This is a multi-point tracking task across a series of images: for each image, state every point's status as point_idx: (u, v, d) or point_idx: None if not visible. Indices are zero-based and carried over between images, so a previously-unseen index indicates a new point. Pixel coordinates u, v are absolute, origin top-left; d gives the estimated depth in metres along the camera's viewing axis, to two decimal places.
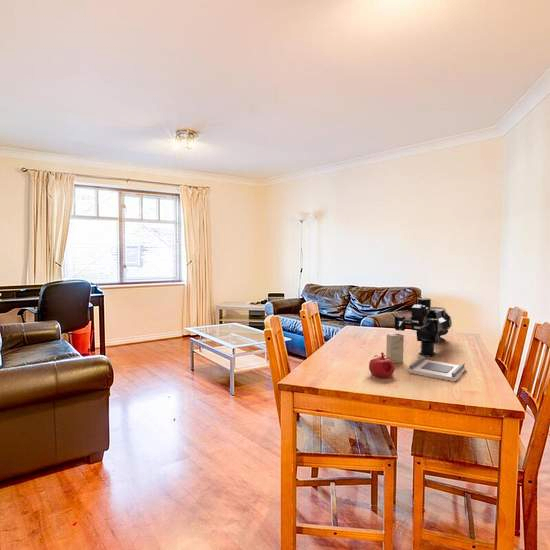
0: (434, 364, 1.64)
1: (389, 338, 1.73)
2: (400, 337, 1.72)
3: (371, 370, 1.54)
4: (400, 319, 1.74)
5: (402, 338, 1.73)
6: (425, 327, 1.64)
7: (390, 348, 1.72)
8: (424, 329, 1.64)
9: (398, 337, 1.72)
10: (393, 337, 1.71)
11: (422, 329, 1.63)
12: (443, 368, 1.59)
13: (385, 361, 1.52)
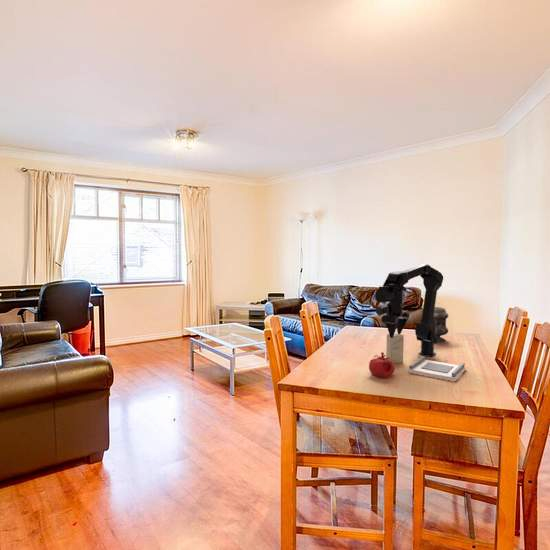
0: (434, 364, 1.64)
1: (389, 338, 1.73)
2: (400, 337, 1.72)
3: (371, 370, 1.54)
4: None
5: (402, 338, 1.73)
6: (389, 331, 1.70)
7: (390, 348, 1.72)
8: (391, 333, 1.69)
9: (398, 337, 1.72)
10: (393, 337, 1.71)
11: (391, 336, 1.70)
12: (443, 368, 1.59)
13: (385, 361, 1.52)
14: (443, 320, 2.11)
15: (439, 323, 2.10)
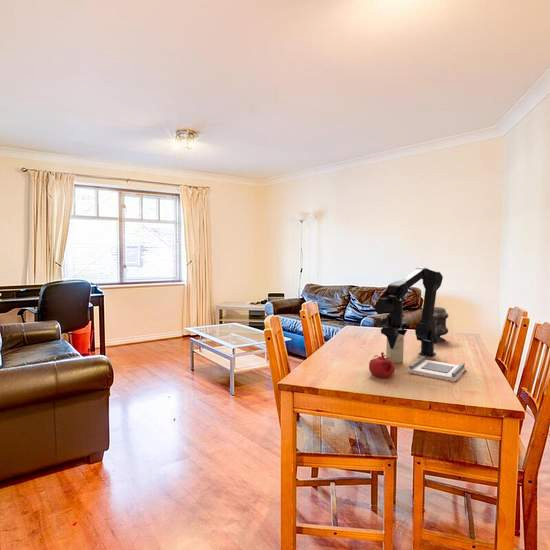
0: (434, 364, 1.64)
1: None
2: (400, 337, 1.72)
3: (371, 370, 1.54)
4: None
5: (402, 338, 1.73)
6: (390, 342, 1.71)
7: (390, 348, 1.72)
8: (392, 344, 1.70)
9: (398, 337, 1.72)
10: None
11: (391, 347, 1.71)
12: (443, 368, 1.59)
13: (385, 361, 1.52)
14: (443, 320, 2.11)
15: (439, 323, 2.10)
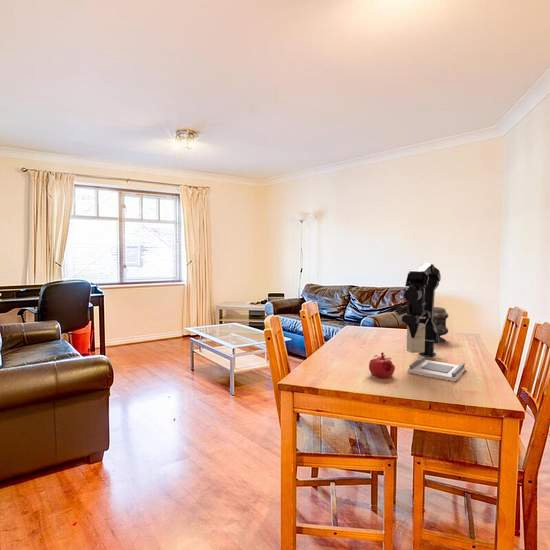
0: (434, 364, 1.64)
1: None
2: (421, 326, 1.65)
3: (371, 370, 1.54)
4: None
5: (424, 327, 1.65)
6: (411, 331, 1.63)
7: (411, 337, 1.65)
8: (413, 333, 1.63)
9: (419, 326, 1.64)
10: None
11: (412, 336, 1.63)
12: (443, 368, 1.59)
13: (385, 361, 1.52)
14: (443, 320, 2.11)
15: (439, 323, 2.10)
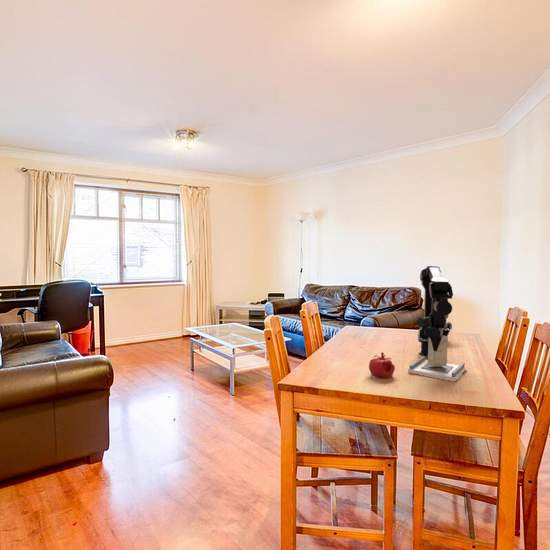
0: None
1: None
2: (444, 338, 1.58)
3: (371, 370, 1.54)
4: None
5: (446, 339, 1.59)
6: (433, 344, 1.57)
7: (433, 350, 1.58)
8: (435, 346, 1.56)
9: (442, 338, 1.58)
10: None
11: (435, 349, 1.57)
12: (443, 368, 1.59)
13: (385, 361, 1.52)
14: None
15: None
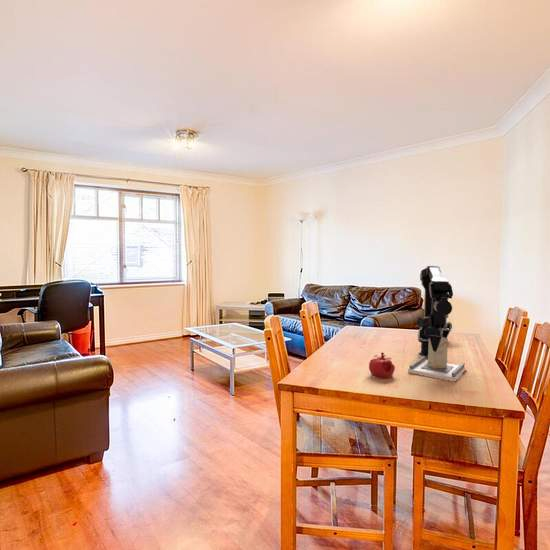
0: None
1: None
2: (444, 340, 1.59)
3: (371, 370, 1.54)
4: None
5: (446, 341, 1.59)
6: (433, 344, 1.56)
7: (433, 352, 1.59)
8: (435, 346, 1.56)
9: (442, 340, 1.58)
10: None
11: (434, 349, 1.56)
12: (443, 368, 1.59)
13: (385, 361, 1.52)
14: None
15: None
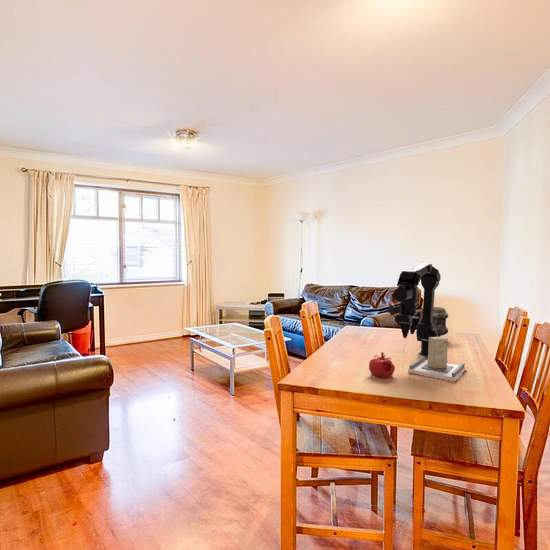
0: None
1: (432, 341, 1.59)
2: (444, 340, 1.59)
3: (371, 370, 1.54)
4: None
5: (446, 341, 1.59)
6: (403, 331, 1.63)
7: (433, 352, 1.59)
8: (405, 333, 1.63)
9: (442, 340, 1.58)
10: (436, 340, 1.58)
11: (405, 336, 1.63)
12: (443, 368, 1.59)
13: (385, 361, 1.52)
14: (442, 320, 2.11)
15: (439, 323, 2.10)
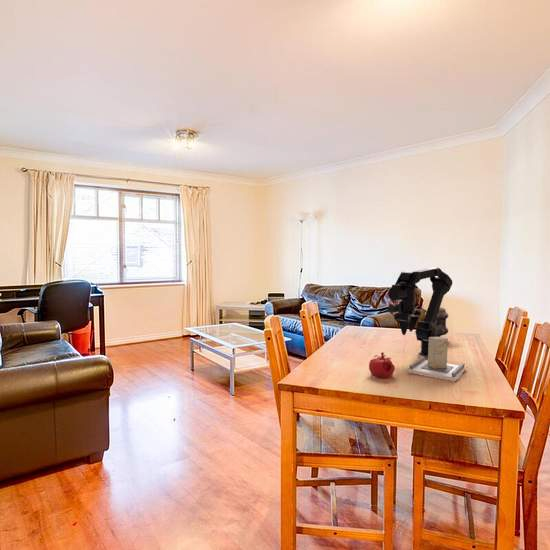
0: None
1: (432, 341, 1.59)
2: (444, 340, 1.59)
3: (371, 370, 1.54)
4: None
5: (446, 341, 1.59)
6: (402, 328, 1.73)
7: (433, 352, 1.59)
8: (404, 330, 1.73)
9: (442, 340, 1.58)
10: (436, 340, 1.58)
11: (403, 333, 1.74)
12: (443, 368, 1.59)
13: (385, 361, 1.52)
14: (443, 320, 2.11)
15: (439, 323, 2.10)
